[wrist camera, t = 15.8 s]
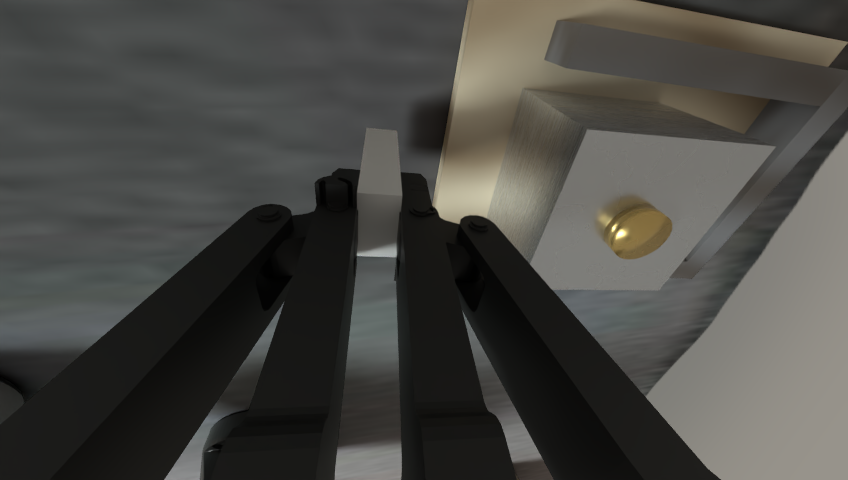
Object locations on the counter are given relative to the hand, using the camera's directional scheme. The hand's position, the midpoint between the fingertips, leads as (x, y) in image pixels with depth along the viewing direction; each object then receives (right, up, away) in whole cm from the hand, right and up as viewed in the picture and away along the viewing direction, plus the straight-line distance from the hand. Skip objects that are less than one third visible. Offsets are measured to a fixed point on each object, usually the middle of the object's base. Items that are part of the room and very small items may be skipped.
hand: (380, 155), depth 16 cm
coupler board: (+13, +1, +4) cm, 14 cm away
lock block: (+11, 0, +3) cm, 11 cm away
